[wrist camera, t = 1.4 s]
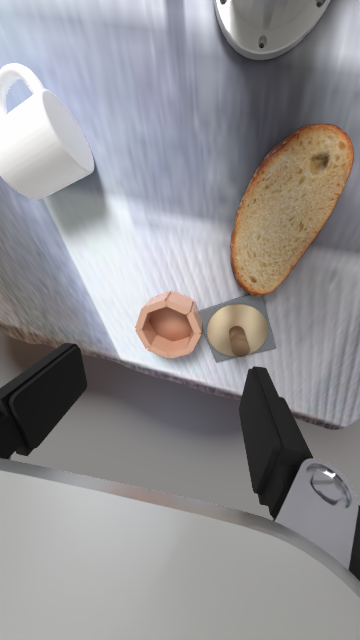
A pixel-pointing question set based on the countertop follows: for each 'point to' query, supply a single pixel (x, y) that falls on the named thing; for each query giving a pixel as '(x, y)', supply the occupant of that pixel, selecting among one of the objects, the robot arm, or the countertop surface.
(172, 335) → the bowl
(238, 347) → the lid
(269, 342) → the mat
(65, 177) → the mug
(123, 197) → the countertop surface
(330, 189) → the bread slice
